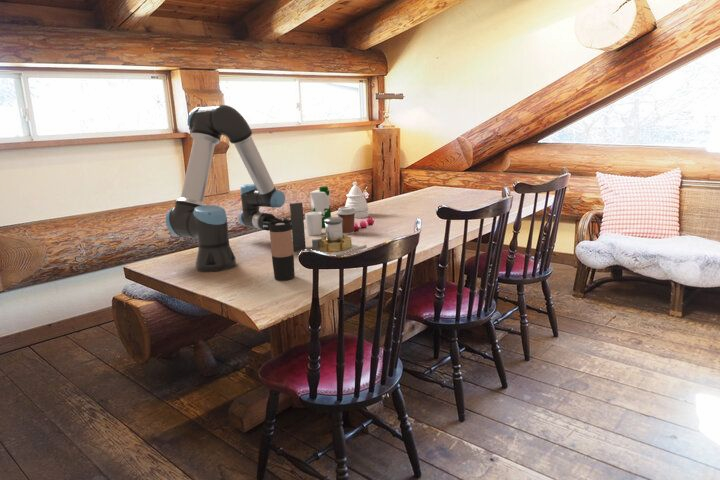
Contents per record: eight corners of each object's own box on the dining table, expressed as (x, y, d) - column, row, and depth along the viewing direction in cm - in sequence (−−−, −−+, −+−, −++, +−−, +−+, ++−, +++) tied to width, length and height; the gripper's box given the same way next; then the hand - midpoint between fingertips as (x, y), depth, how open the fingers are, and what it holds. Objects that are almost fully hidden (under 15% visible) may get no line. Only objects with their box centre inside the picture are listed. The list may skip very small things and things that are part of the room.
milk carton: (326, 228, 262) (324, 188, 257) (310, 227, 265) (307, 188, 260) (334, 224, 270) (331, 185, 265) (318, 224, 273) (315, 185, 268)
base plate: (329, 258, 210) (329, 255, 210) (302, 251, 222) (302, 249, 222) (366, 246, 225) (365, 244, 225) (338, 241, 237) (338, 238, 236)
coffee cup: (334, 234, 249) (333, 209, 246) (342, 230, 257) (340, 205, 254) (352, 235, 246) (351, 210, 243) (359, 230, 254) (358, 206, 251)
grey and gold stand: (318, 258, 207) (314, 207, 202) (291, 251, 219) (288, 203, 214) (358, 245, 223) (356, 198, 218) (331, 240, 234) (329, 195, 229)
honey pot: (344, 214, 295) (342, 182, 290) (367, 212, 296) (365, 180, 291) (346, 219, 282) (344, 185, 278) (370, 217, 283) (368, 183, 279)
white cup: (320, 235, 248) (319, 214, 246) (304, 235, 250) (302, 214, 247) (324, 231, 256) (323, 211, 253) (309, 231, 257) (307, 211, 255)
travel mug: (269, 280, 187) (264, 224, 182) (280, 273, 194) (275, 220, 189) (289, 281, 184) (284, 225, 179) (299, 275, 191) (294, 220, 186)
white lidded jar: (334, 252, 218) (332, 221, 215) (322, 249, 223) (320, 219, 220) (347, 248, 223) (346, 218, 220) (335, 246, 228) (333, 216, 225)
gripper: (277, 226, 240) (311, 233, 224) (253, 232, 231) (287, 239, 215) (275, 210, 238) (310, 216, 222) (251, 215, 229) (286, 221, 213)
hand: (299, 227), depth 219 cm, fingers closed
